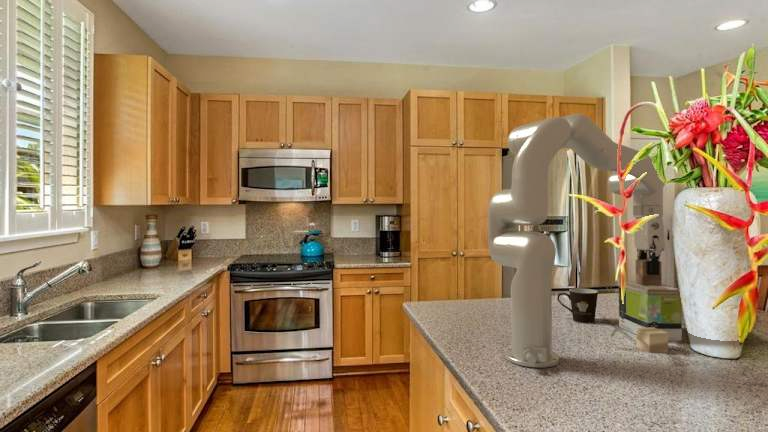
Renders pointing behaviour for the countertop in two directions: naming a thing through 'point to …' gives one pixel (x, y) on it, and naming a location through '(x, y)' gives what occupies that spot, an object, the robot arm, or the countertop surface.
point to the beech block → (652, 339)
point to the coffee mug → (582, 304)
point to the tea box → (651, 309)
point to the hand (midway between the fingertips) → (648, 272)
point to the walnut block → (643, 277)
